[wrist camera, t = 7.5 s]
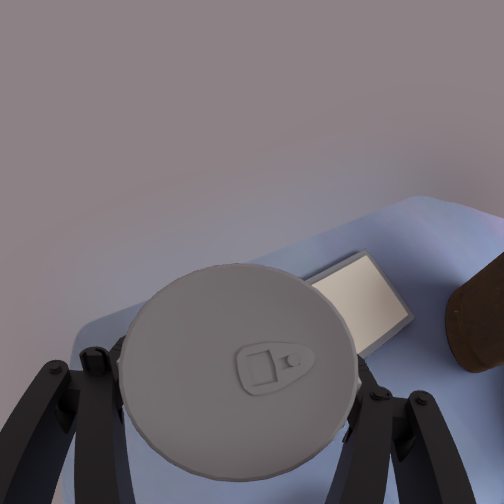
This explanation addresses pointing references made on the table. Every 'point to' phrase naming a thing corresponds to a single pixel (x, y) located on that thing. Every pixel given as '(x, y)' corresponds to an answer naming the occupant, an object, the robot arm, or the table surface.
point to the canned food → (238, 372)
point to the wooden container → (478, 319)
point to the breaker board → (364, 301)
